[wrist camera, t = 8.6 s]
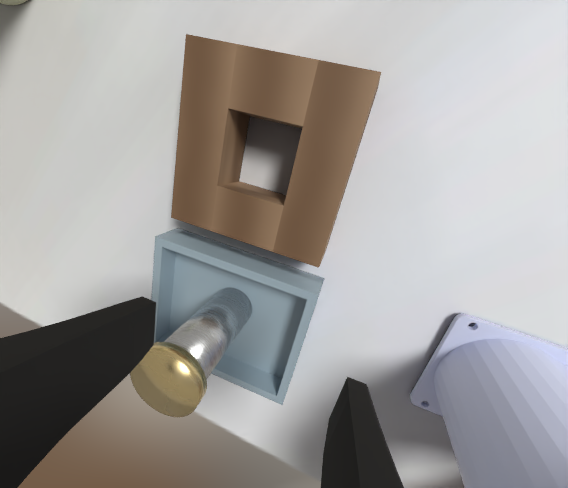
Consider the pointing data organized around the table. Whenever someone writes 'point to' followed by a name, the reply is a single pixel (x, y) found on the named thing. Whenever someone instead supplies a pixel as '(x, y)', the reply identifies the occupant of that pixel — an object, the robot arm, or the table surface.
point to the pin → (191, 354)
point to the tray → (261, 292)
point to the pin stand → (232, 137)
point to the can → (12, 2)
